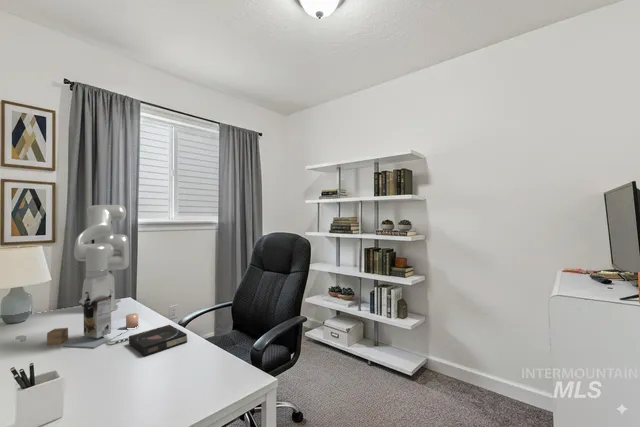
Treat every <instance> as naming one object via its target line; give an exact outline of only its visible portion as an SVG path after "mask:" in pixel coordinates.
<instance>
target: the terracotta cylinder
mask: <svg viewBox="0 0 640 427" xmlns="http://www.w3.org/2000/svg"><path fill="white" fill-rule="evenodd" d="M137 326H138V327H139V313H130V314H129V313H128V314H127V315H126V316H125V329H126V328H135V327H137Z"/></svg>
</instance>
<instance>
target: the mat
mask: <svg viewBox="0 0 640 427" xmlns="http://www.w3.org/2000/svg"><path fill="white" fill-rule="evenodd" d="M105 343H107V340H106V339H105V338H104V337H103V336H102V337H99V338H94V337H90V336H86V335H83V336H81V337H79V338H75V340H72V341H69V342H68V343H66V344H63V348H76V349H77V348H78V349H79V348H80V349H96V348H98V347H101V345H104V344H105Z"/></svg>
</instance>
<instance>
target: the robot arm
mask: <svg viewBox="0 0 640 427" xmlns="http://www.w3.org/2000/svg"><path fill="white" fill-rule="evenodd" d="M86 214H87V217H88V218H89V227H88V228H85V230H83V231H82V232H81V233H80V234H79V235H78V236H77V238H76V240H75V242H74V243H75V244H74V248H73V249H74V251H73V255H74V258H75V260H77V261H78V262H85V263H86V264H85V267H86V268H85V270H86V273H85V277H86V278H84V280H83V285H82V292H81V298H80V300H79V301H78V303H79V304H80V305H81V307H83V310H84V309H85V317H86V318H92V317H93V308H92V306H93V302H94V300H97V299H99V298H103V297H106V296H107V297H111V312H114V311H117V309H118V308H119V305H117V304H118V303H121V298H117V299H116V298H115V296H116V294H115V291H116V290H115V286H116V284H115V277H114V275H113V274H112V273H111V272H110V271H118V270H119V271H120V270H126V269H128V267H129V265H130V242H129V237H128V236H127V235H126V234H122V233H120V234H114V231H113V230H114V226H113V224H112V222H122V221H123V222H124V221H125V220H126V217H127V208H126V207H125V206H124V205H122V204H96V205H95V204H94V205H90V206H88V207H87V208H86ZM93 240H94V243H88V242H90V241H93ZM114 252H115V253H114ZM116 252H118V253H116ZM89 300H90V301H89ZM89 303H90V305H88V304H89Z"/></svg>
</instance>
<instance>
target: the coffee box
mask: <svg viewBox="0 0 640 427" xmlns="http://www.w3.org/2000/svg"><path fill="white" fill-rule="evenodd" d="M89 301H90V300H89ZM88 305H90V303H89V304H88ZM92 308H93V317H92V318H86V317H85V309H84V308H83V336H85V335H86V336H90V337H94V338H99V337H102V336H104V335H107V334H110V333H111V329H112V311H111V297H107V296H106V297H103V298H99V299H97V300H94V302H93V306H92Z"/></svg>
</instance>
